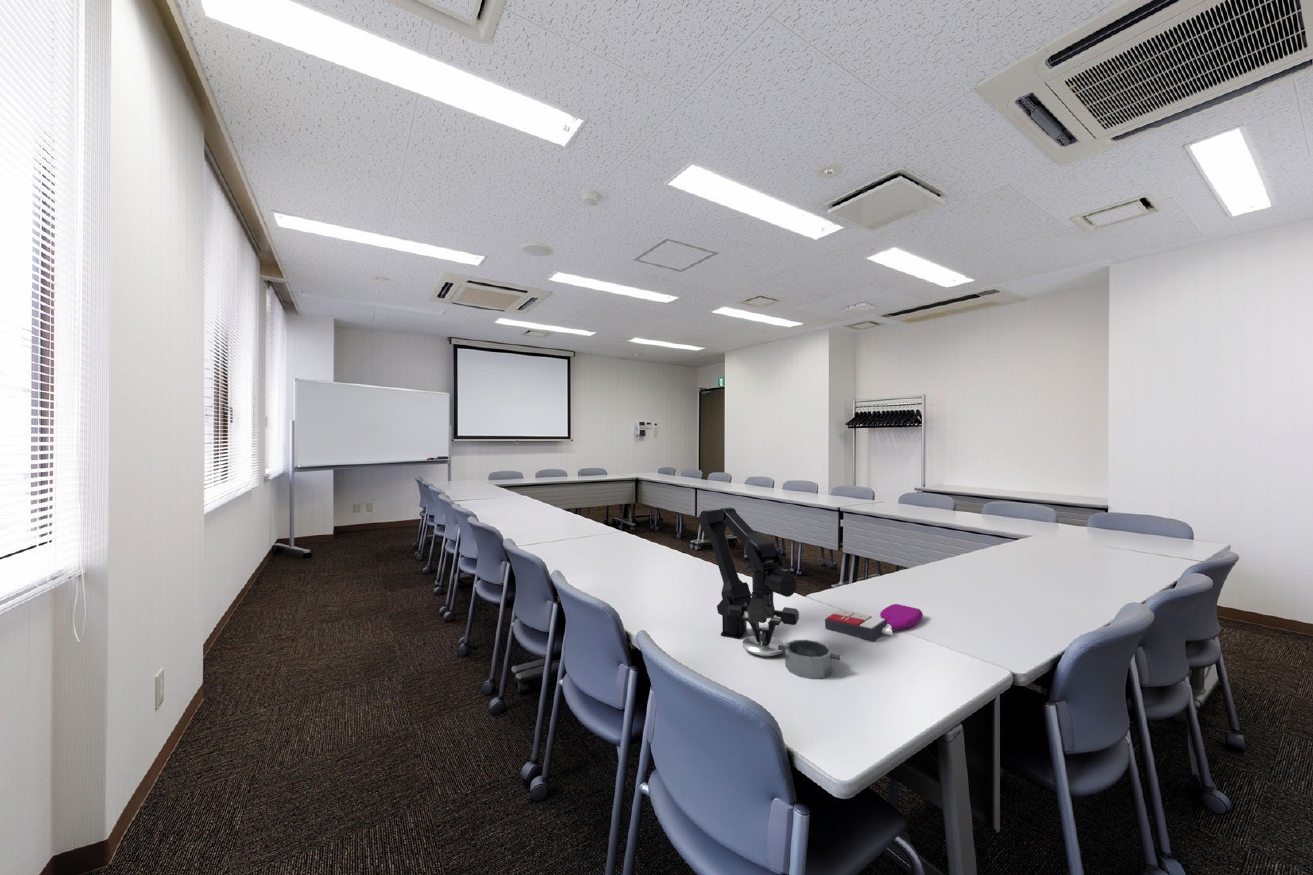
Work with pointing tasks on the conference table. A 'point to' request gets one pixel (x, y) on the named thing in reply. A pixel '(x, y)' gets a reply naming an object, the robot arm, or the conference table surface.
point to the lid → (762, 644)
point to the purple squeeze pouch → (900, 617)
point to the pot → (808, 658)
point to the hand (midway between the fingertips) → (763, 642)
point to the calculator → (856, 624)
